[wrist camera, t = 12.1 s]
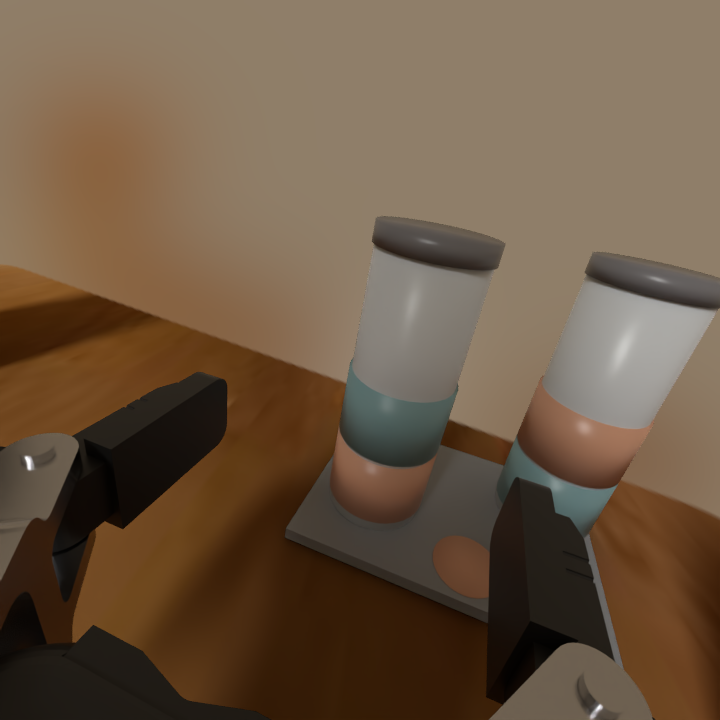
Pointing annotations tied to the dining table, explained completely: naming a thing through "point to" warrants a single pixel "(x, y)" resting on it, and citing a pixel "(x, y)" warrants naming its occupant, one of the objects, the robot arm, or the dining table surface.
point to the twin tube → (608, 379)
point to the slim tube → (407, 365)
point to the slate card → (426, 537)
